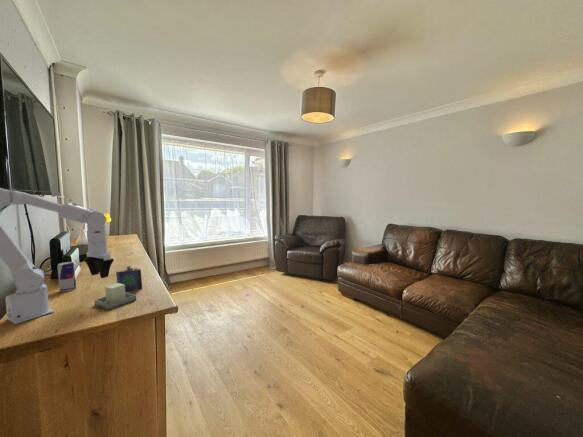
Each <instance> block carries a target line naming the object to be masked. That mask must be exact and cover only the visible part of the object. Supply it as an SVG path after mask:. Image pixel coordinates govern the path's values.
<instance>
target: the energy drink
mask: <svg viewBox="0 0 583 437" xmlns="http://www.w3.org/2000/svg"><path fill="white" fill-rule="evenodd" d="M56 268H57V276H58V286H59V292H61V293H63V292H70V291H74V290H75V289H76V288H77V280H76V272H75V262H73V261H65V262H60V263H57V267H56Z"/></svg>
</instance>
